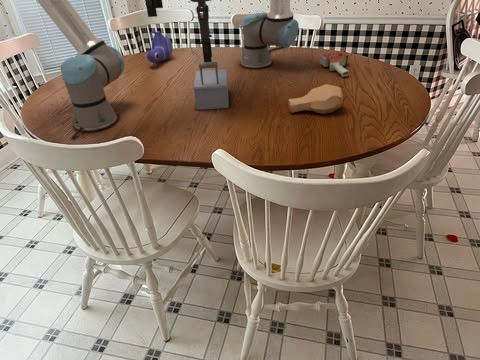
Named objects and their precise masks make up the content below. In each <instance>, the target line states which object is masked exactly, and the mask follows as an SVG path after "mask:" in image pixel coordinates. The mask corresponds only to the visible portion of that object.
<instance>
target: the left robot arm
mask: <svg viewBox="0 0 480 360" xmlns="http://www.w3.org/2000/svg"><path fill="white" fill-rule="evenodd" d="M36 2H37V3H38V5H40V7H41V8H42V9H43V11H44V12H45V13H46V14H47V16H48V17H49V18H50V19H51V20H52V21H53V24H55V25H56V27H57V28H58V29H59V30H60V31H61V33H62V34H63V36H64V37H65V38H66V39H67V40H68V42H69V43H70V44H71V46H72V47H73V48H74V49H75V50H76V52H77V55H74V56H71V57H69V58H67V59H65V60H64V61H63V62H62V63H61V65H60V72H61V77H62V80H63V82H64V84H65V88H66V91H67V93H68V96H69V99H70V101H71V104H72V108H73V114H72V117H73V118H72V119H73V125H74V128H75V129H76V131H75V133H74V134H72V136H71V138H72V139H75V138H76V137H77V135H78V134H79V133H80V132H84V133H92V132H99V131H102V130H105V129H107V128H110V127H111V126H113V125H115V124H116V122H117V121H118V116H117V114H116V111H115V110H114V108H113V107H112V105H111V103H110V102H109V101H108V99H107V96H106V92H105V90H104V88H106V87H107V86H109V85H110V84H111V83H113V82H115V81H116V80H117V79H119V78H120V76H122V75H123V73H124V70H125V60H124V57H123V55H122V54H121V51H119V50H118V49H117V48H115V47H113V46H110V45H107V43H106V42H105V40H104V39H101V38H97V37H96V36H95V34H94V33H93V31H92V30H91V29H90V27H89V26H88V25H87V24H86V23H85V21H84V20H83V18H82V17H81V15H80V14H79V13H78V12H77V11H76V9H75V8H74V7H73V5H72V4H71V2H70V1H69V0H36ZM144 2H145V7H146V11H147V12H146V13H147V17H148V18H153V17H154V18H155V17H158V13H157V12H158V11H157V9H163V8H164V5H163V0H144Z"/></svg>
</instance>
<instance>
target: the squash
mask: <svg viewBox="0 0 480 360" xmlns="http://www.w3.org/2000/svg"><path fill="white" fill-rule="evenodd" d="M343 100H344V93H343V90H342V87H339V86H338V85H337V86H336V85H332V84H329V83H326V84H323V85H320V86H318V87H313V88H311V89H310V90H309V91H308V92H307V94H305V95H304V96H300V97H296V98H289V99H288V100H287V104H288V106H289V111H290V113H292V114H294V113H297V112H302V111H303V112H304V111H310V112H311V111H312V112H315V113H318V114H322V115H325V114H332V113H333V112H336V111H337V110H338V109H341V108H342V104H343V103H344V102H343Z"/></svg>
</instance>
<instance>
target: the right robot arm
mask: <svg viewBox="0 0 480 360" xmlns="http://www.w3.org/2000/svg"><path fill="white" fill-rule="evenodd" d="M189 1H190V2H191V3H197V5H196V7H195V11H196V14H197V21H198V24H199V33H200V42H199V45H201V49H202V56H203V63H205V62H213V60H212V57H213V52H212V42H211V38H213V34H211V31H210V22H209V20H210V19H209V18H210V15H209V9H210V8H209V5H208V4H207V2H210V1H211V0H189ZM269 8H270V9H269V12H263V11H262V12H255V13H250V14H247V15H244V16H243V18H242V37H243V50H242V54H241V59H240V66H241V67H243V68H244V69H249V70H259V69H264V68H268V67H269V66H271V65H272V57H271V54H270V52H271V51H276V50H281V49H283V48H289V47H291V46H292V45H293V44H294V43H295V40H297V37H298V33H299V28H300V27H299V25H300V24H299V21H298V20H296V19H295V18H294V12H293V11H292V10H291V0H269ZM268 46H274V48H271V49H269V47H268Z"/></svg>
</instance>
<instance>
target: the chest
mask: <svg viewBox="0 0 480 360" xmlns="http://www.w3.org/2000/svg"><path fill="white" fill-rule="evenodd" d="M193 93H194V94H193V95H194V101H195V108H196V110H197V111H199V110H214V109H215V110H216V109H229V106H230V105H229V104H230V103H229V82H228V79H227V87H224V88H208V89H193Z"/></svg>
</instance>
